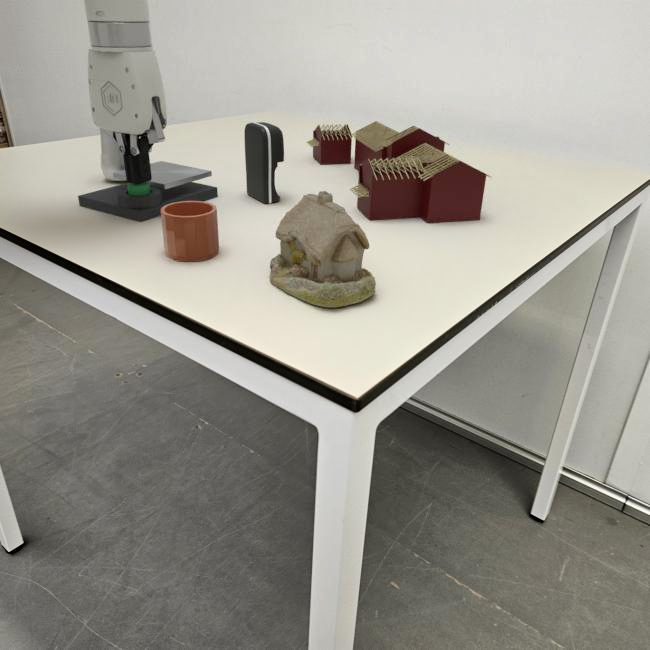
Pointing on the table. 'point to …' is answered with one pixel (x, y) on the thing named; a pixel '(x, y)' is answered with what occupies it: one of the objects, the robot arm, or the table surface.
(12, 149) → the table surface
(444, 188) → the toy houses
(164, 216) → the ramekin
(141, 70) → the robot arm
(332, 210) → the ceramic model
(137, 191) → the tare button
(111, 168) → the plastic bottle
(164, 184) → the scale pan
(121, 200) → the scale
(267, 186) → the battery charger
